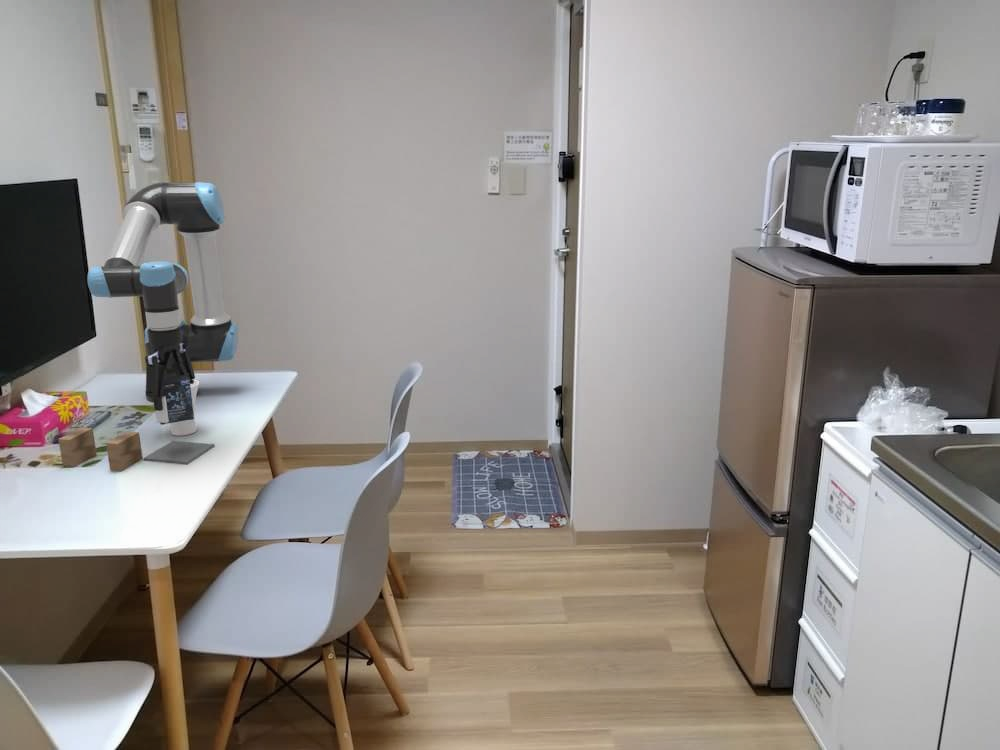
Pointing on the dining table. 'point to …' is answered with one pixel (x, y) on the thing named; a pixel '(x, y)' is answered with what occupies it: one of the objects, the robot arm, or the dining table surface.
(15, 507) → the dining table surface
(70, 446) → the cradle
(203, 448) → the mat
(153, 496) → the dining table surface
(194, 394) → the cup
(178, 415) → the box
